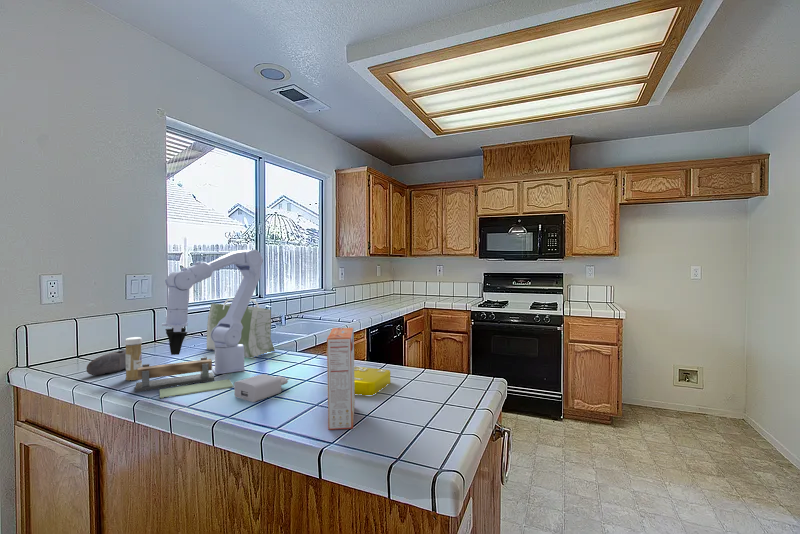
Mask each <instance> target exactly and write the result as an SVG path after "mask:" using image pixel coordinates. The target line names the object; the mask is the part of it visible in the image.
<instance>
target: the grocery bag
mask: <svg viewBox="0 0 800 534" xmlns="http://www.w3.org/2000/svg"><path fill="white" fill-rule="evenodd" d="M233 299H234V298H231V297H229V298H227V299H226V300H225V301H224V302H223V304H222V303H211V304H210V308H209V311H208V315H207V325H206V350H210V349H213V350H212V351H215V345H214V341H212V339H211V331H212V330H213V328H214V327H216V326H217V324H218V322H219V321H220V320H221V319H223V318H224V317H225V316H226V314H227V312H228V310H229V308H230V305H231V303H227V302H229V301H231V302H232V301H233ZM250 302H253V303H254V304H255V305H256V307H255V306H249V305H248V306H247V308H246V311H245V313H244V315H243V317H242V320H241V323H242V326H243V329H242V332H241V339H240V341H239V343H238V344H243V346H244V356H245V357H244V358H248V357H253V358H255V357H254V356H257V357H259V356H258V355H261V354H264V353H267V352H271V351H275V352H276V350H275V347H274V343H273V341H272V338H271V335H272V333H271V332H272V309H269V308H264V307H263V308H262V307H260V305H259V303H258V302H257V300H255V298H254V299H253V298H251V299H250Z"/></svg>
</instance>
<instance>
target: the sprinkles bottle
mask: <svg viewBox="0 0 800 534" xmlns="http://www.w3.org/2000/svg"><path fill="white" fill-rule="evenodd" d="M142 343H143V338H142V336H141V337H140V336H133V337H132V336H131V337H128V338H127V337H126V338H125V340H124V344H125V350H126V369H125V380H126V381H129V382H131V381H137V380H138V368H139V367H142V365H143V363H142V361H143V360H142V357H143V354H142ZM130 380H131V381H130Z"/></svg>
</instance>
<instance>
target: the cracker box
mask: <svg viewBox="0 0 800 534" xmlns="http://www.w3.org/2000/svg"><path fill="white" fill-rule="evenodd" d="M354 335H355V334H354V327H333V328H332V329H331V331H330V332H329V335H328V336H327V338H326V359H327V361H326V367H327V368H326V370H327V371H326V373H327V374H326V375H327V414H328V415H327V417H328V419H327V429H328V430H329V431H331V430H332V431H334V430H348V429H349V430H350V429H351V430H352V429H354V420H355V419H354V418H355V404H356V403H355V401H356V400H355V398H356V395H355V389H354V366H355V340H354V337H355V336H354Z"/></svg>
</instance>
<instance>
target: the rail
mask: <svg viewBox="0 0 800 534" xmlns="http://www.w3.org/2000/svg"><path fill="white" fill-rule="evenodd" d="M205 363H208V364H209V371H213V370H212V368H213V360H212V359H211V358H209V359H208V358H207V359H206V360H201V359H199V360H191V361H184V362H183V361H182V362H175V363H167V364H158V365H149V366H148V367H139V368H138V379H137V380H138V381H142V371H149V379H154V378H162V377H169V376H170V377H171V376H178V375H185V374H191V373H192V374H193V373H194V374H195V373H201V371H202V364H205Z"/></svg>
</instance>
